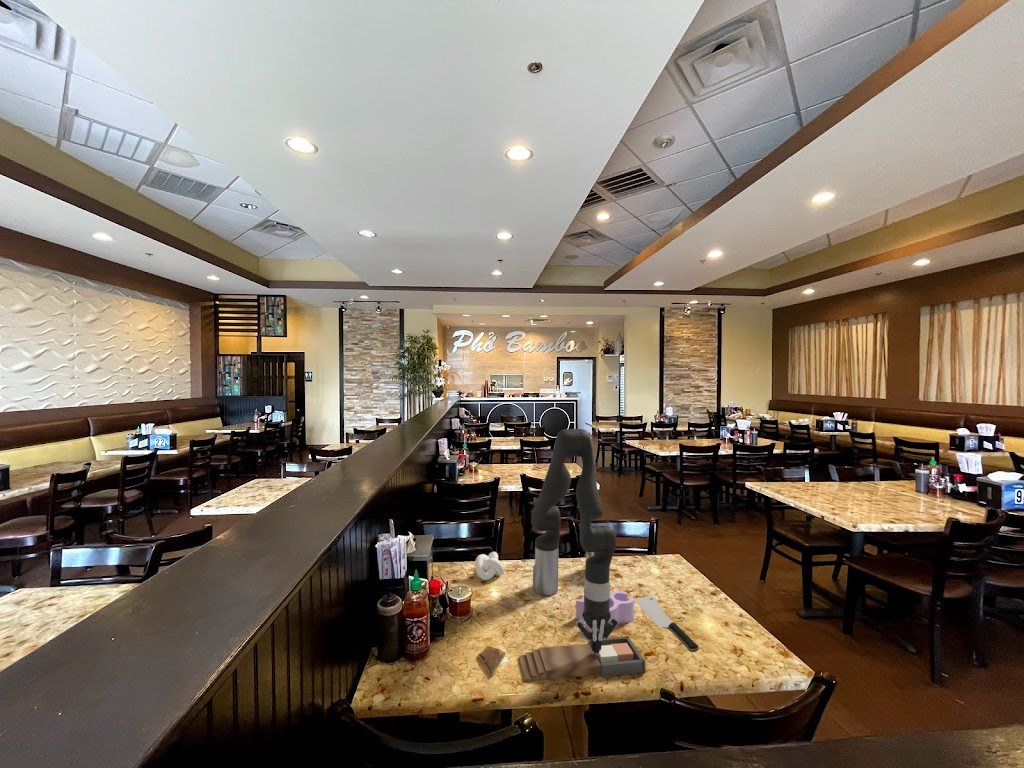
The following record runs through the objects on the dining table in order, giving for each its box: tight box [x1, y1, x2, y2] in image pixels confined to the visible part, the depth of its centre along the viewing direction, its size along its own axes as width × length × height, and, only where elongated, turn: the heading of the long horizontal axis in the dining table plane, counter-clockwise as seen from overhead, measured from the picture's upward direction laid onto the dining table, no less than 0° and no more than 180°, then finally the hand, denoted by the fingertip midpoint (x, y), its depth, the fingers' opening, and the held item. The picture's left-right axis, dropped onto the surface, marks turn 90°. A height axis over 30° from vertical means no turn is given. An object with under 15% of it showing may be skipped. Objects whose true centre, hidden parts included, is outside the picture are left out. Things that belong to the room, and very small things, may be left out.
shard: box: [477, 645, 507, 678], centre depth 127 cm, size 11×8×2 cm
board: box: [538, 643, 601, 680], centre depth 126 cm, size 16×10×2 cm, turn 98°
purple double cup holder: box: [575, 590, 635, 632], centre depth 150 cm, size 20×12×7 cm, turn 110°
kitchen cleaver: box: [634, 595, 699, 652], centre depth 148 cm, size 31×2×10 cm
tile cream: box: [596, 645, 618, 665], centre depth 127 cm, size 5×5×3 cm
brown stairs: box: [518, 648, 547, 682], centre depth 124 cm, size 6×10×2 cm, turn 8°
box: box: [587, 635, 646, 678], centre depth 128 cm, size 13×12×3 cm
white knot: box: [474, 551, 505, 581], centre depth 181 cm, size 11×12×9 cm
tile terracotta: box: [611, 643, 634, 662], centre depth 128 cm, size 5×5×3 cm
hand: (596, 651), depth 127 cm, fingers closed
